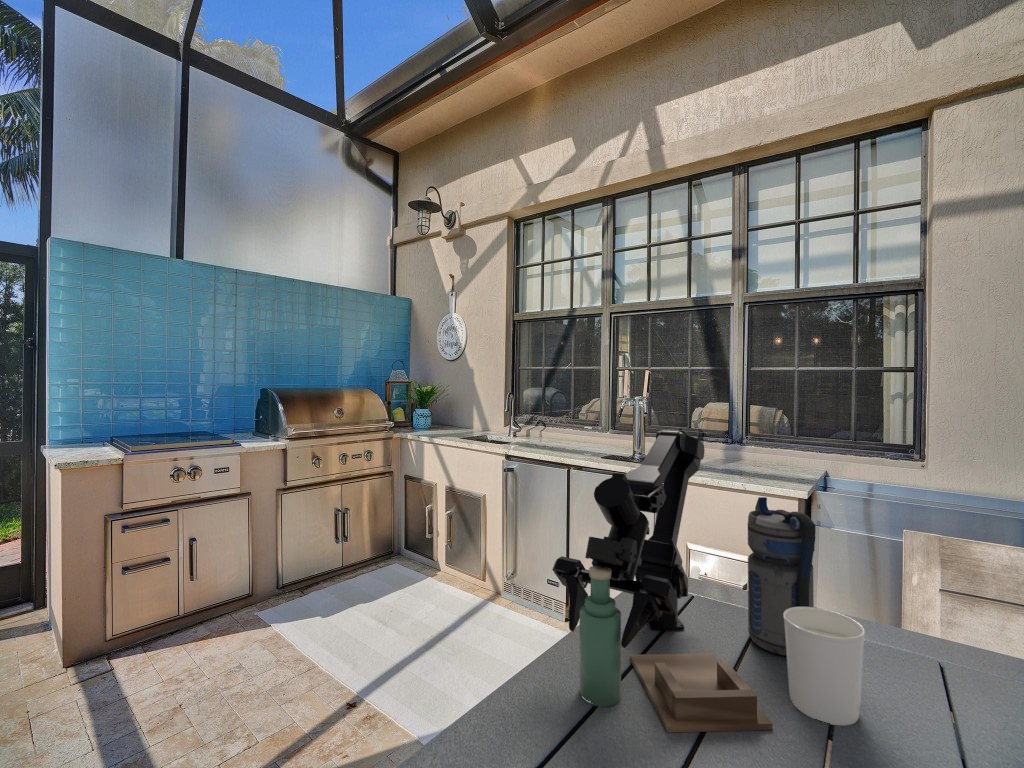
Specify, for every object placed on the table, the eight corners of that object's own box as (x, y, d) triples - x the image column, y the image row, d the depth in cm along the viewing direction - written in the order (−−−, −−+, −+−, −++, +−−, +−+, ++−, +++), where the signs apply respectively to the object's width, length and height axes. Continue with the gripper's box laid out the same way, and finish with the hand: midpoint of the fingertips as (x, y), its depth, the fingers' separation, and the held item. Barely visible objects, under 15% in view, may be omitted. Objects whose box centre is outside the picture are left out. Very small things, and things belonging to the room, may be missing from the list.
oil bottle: (576, 682, 75) (576, 562, 75) (615, 681, 75) (615, 562, 76) (583, 707, 69) (583, 577, 69) (625, 706, 69) (625, 576, 70)
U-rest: (629, 659, 81) (629, 636, 81) (712, 658, 82) (712, 635, 82) (667, 732, 64) (667, 702, 64) (772, 729, 64) (772, 700, 64)
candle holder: (826, 736, 63) (825, 642, 64) (768, 691, 73) (767, 610, 73) (884, 723, 66) (883, 633, 66) (820, 681, 75) (819, 603, 76)
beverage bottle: (784, 671, 78) (782, 513, 79) (734, 631, 91) (733, 496, 92) (840, 666, 80) (838, 511, 80) (783, 627, 93) (782, 495, 93)
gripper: (558, 507, 81) (521, 596, 72) (671, 524, 71) (645, 632, 61) (579, 543, 87) (548, 629, 78) (686, 564, 77) (665, 667, 68)
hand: (596, 638), depth 71 cm, fingers open, 8 cm apart
